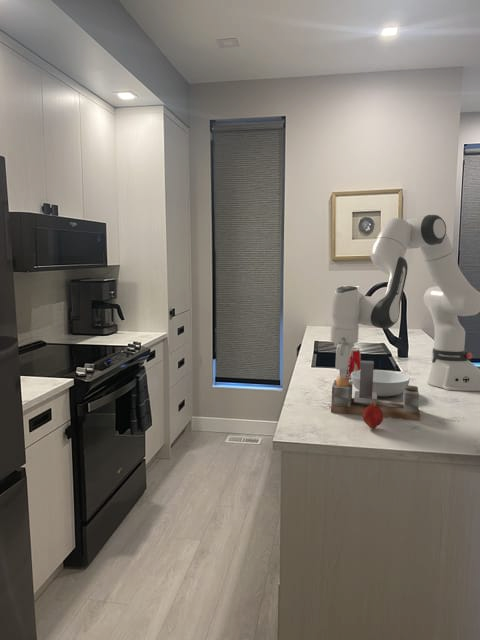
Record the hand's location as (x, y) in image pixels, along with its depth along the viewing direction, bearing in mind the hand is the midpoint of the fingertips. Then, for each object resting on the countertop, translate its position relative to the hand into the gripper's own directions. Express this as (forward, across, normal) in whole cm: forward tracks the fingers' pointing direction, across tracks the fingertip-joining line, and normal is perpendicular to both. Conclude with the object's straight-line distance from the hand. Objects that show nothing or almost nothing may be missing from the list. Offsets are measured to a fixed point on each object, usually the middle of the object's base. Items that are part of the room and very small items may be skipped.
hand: (342, 377), depth 165 cm
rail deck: (+10, 0, -11) cm, 15 cm away
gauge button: (+8, 0, 0) cm, 8 cm away
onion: (+10, -18, -10) cm, 23 cm away
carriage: (+7, 0, -8) cm, 10 cm away
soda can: (+10, +44, -1) cm, 45 cm away
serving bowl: (+10, +22, -12) cm, 27 cm away
